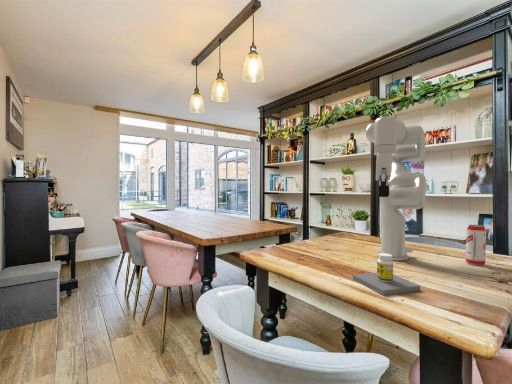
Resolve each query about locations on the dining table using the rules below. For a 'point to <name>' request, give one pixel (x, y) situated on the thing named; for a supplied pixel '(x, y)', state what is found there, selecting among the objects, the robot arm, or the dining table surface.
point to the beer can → (476, 245)
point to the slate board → (386, 284)
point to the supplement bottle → (385, 267)
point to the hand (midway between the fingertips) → (384, 196)
